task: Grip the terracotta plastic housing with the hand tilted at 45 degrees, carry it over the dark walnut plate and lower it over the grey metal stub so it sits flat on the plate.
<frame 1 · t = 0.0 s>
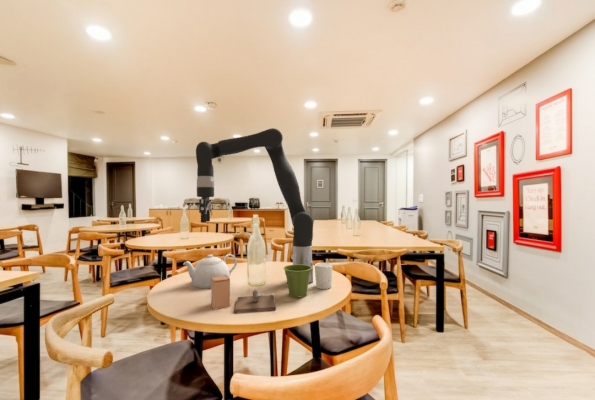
hand: (205, 221, 118), 29 cm above the table, tool pointing down, fingers open, 8 cm apart
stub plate: (255, 304, 96), on the table
plant pot: (297, 295, 106), on the table
housing: (220, 305, 96), on the table
white cup: (323, 287, 116), on the table
teapot: (211, 283, 123), on the table
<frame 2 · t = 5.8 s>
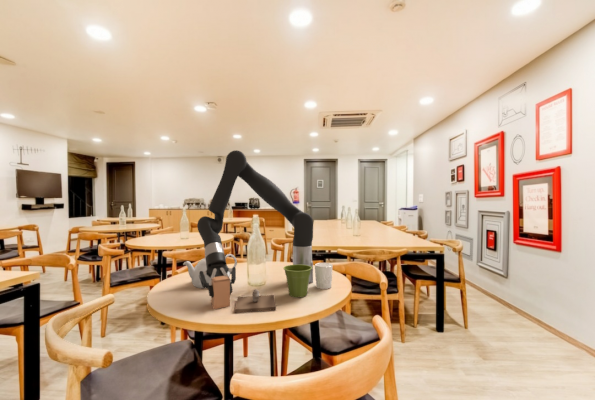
hand: (221, 294, 95), 4 cm above the table, tool tilted 45°, fingers closed on housing, 5 cm apart
housing: (220, 304, 96), on the table, touching gripper
everything else where it was.
when the fingers open (6 cm above the table, at t = 11.6 s): housing stays where it is, resting on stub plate.
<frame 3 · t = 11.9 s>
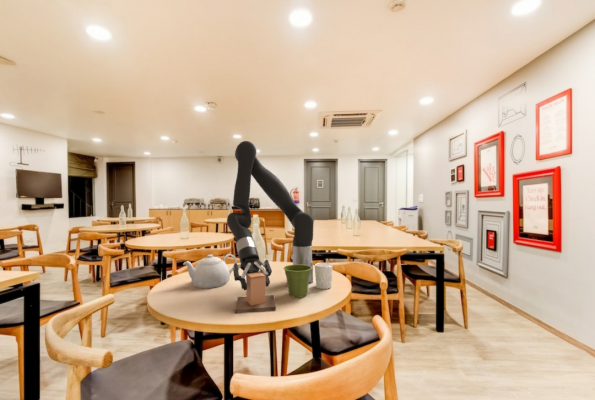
hand: (257, 287, 95), 7 cm above the table, tool tilted 45°, fingers open, 8 cm apart
housing: (255, 301, 96), point 1 cm above the table, touching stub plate
everything else where it was.
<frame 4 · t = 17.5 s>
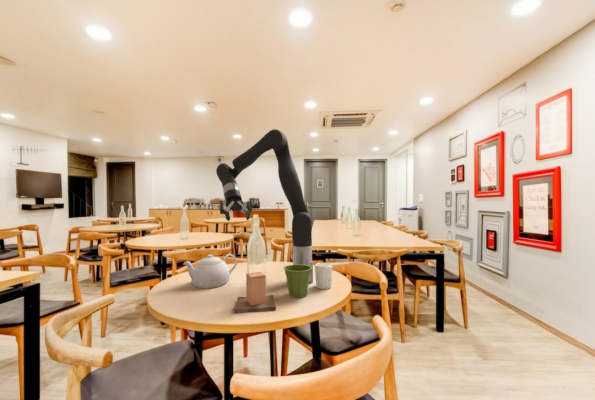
hand: (238, 219, 114), 31 cm above the table, tool tilted 45°, fingers open, 8 cm apart
nothing on the table moved.
at the end: housing 0.1 cm from the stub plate (horizontally); housing point 1.2 cm above the table; housing tilted 0° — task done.
